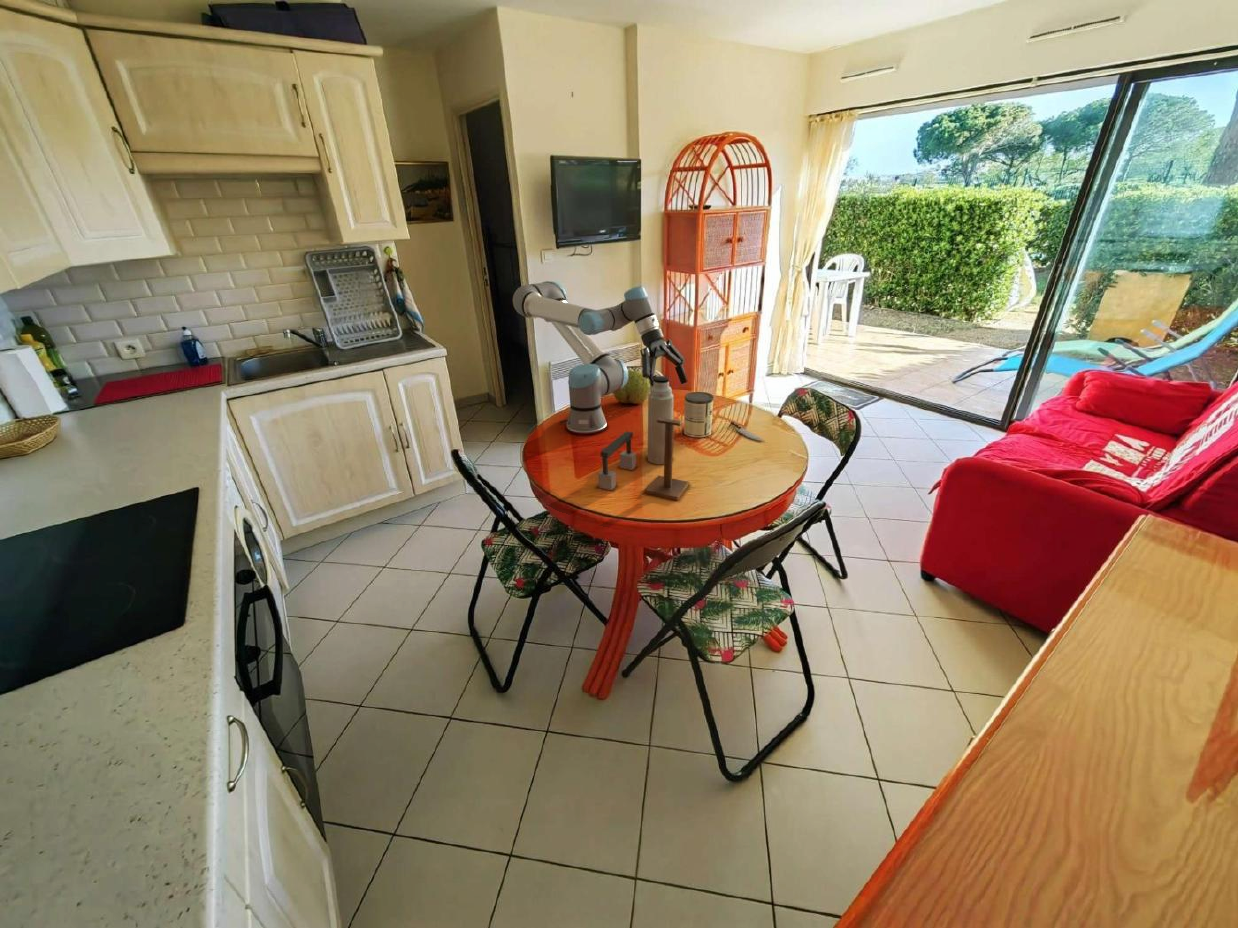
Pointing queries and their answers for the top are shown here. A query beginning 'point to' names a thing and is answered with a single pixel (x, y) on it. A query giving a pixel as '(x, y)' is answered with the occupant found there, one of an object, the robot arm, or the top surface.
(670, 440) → the stand
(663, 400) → the thermos bottle
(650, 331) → the robot arm
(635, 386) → the fruit
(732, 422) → the chef's knife
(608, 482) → the headphones
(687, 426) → the coffee can
